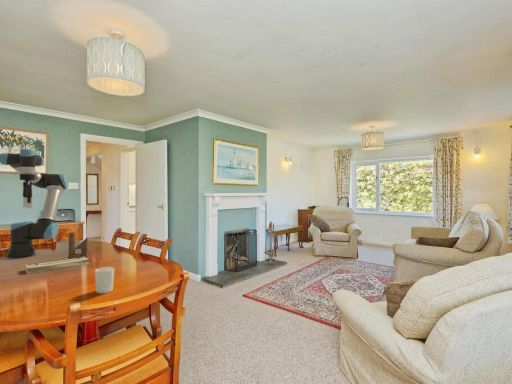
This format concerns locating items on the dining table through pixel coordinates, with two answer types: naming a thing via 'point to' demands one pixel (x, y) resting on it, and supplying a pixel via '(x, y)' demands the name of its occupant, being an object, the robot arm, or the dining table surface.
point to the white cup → (104, 279)
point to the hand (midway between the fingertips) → (27, 207)
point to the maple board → (56, 265)
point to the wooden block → (81, 246)
